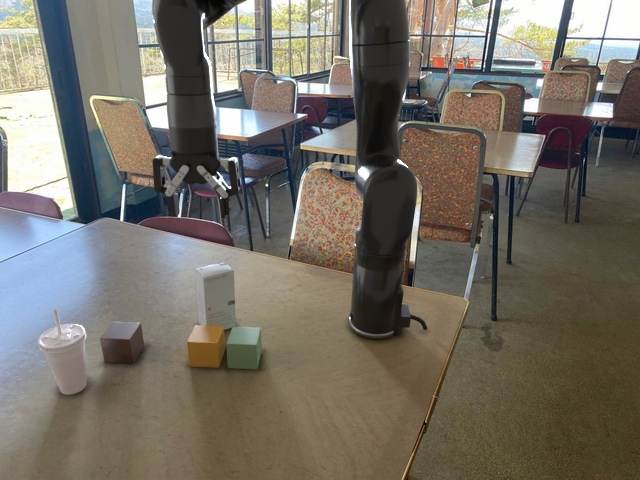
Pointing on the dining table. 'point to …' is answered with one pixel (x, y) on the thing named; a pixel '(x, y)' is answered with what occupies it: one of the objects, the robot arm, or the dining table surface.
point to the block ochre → (206, 346)
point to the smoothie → (65, 355)
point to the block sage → (244, 348)
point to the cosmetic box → (216, 295)
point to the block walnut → (122, 342)
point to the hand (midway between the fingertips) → (200, 216)
